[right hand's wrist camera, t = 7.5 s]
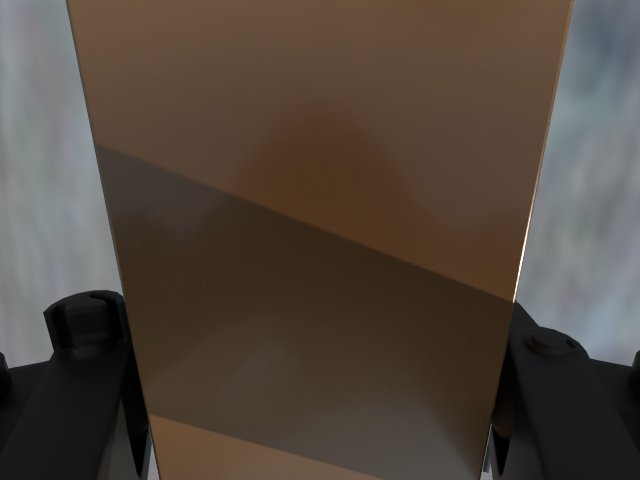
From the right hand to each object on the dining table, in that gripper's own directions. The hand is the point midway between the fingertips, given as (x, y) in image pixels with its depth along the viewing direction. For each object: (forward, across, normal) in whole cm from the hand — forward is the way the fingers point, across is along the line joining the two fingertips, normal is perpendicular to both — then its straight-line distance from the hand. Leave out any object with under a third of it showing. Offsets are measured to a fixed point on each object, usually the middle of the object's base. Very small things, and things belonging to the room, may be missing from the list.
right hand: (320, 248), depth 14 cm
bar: (+1, 0, -9) cm, 9 cm away
